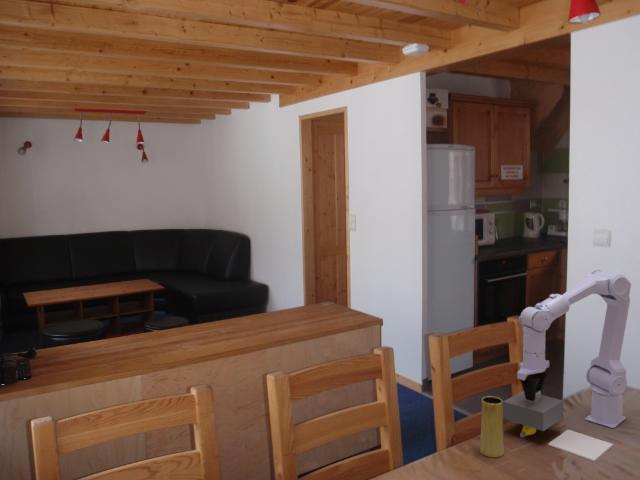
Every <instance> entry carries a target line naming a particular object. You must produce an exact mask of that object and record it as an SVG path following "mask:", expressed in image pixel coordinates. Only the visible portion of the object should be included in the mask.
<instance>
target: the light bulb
mask: <svg viewBox="0 0 640 480" xmlns="http://www.w3.org/2000/svg"><path fill="white" fill-rule="evenodd" d="M536 432H537V429H535V428H532V427H528V426H525V425H522V430H521V432H520V433H519V436H520V438H522V439H524V438H525V437H527V436H531V435H534V434H536Z"/></svg>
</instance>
